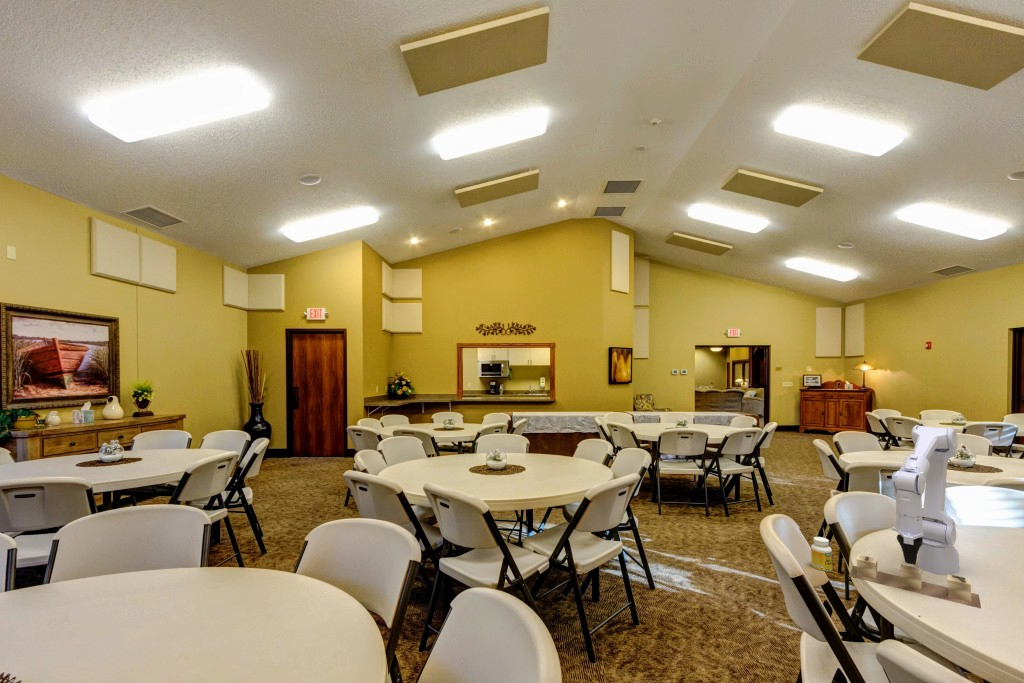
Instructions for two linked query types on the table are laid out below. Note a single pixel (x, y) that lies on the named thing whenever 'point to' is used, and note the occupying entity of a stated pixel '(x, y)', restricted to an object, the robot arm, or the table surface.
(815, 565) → the supplement bottle
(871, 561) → the block one
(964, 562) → the table surface
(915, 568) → the plain block
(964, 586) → the block seven
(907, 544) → the robot arm
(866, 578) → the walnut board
